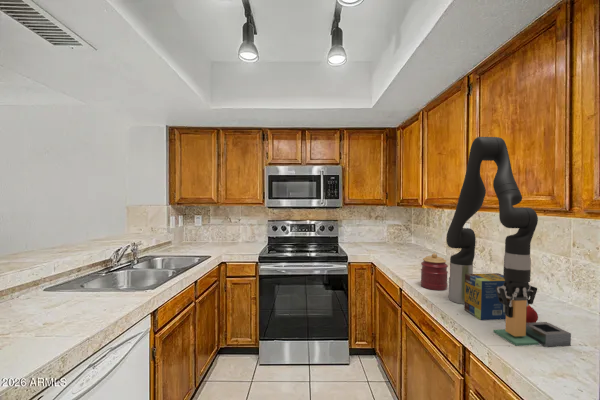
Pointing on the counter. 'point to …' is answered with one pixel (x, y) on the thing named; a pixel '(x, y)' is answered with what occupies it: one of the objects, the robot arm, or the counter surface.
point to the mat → (516, 338)
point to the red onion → (531, 315)
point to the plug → (517, 317)
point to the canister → (434, 273)
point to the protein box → (484, 296)
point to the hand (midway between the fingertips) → (515, 316)
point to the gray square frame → (548, 334)
